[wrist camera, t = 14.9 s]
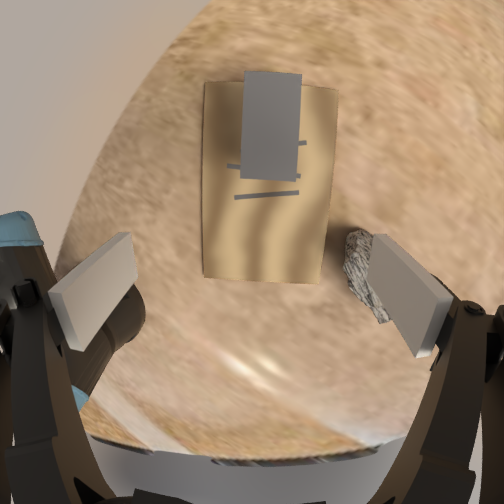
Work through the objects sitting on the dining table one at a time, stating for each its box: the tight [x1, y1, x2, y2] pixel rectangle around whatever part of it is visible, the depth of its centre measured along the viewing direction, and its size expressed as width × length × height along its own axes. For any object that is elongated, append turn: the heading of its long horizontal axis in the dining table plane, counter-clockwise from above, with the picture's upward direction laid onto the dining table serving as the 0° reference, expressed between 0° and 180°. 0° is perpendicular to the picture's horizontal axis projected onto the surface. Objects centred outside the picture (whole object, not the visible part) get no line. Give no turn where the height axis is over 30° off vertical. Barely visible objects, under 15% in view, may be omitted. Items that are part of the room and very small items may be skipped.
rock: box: [343, 229, 392, 324], centre depth 34 cm, size 16×8×10 cm, turn 38°
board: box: [202, 82, 339, 284], centre depth 34 cm, size 16×26×1 cm, turn 177°
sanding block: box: [240, 71, 302, 182], centre depth 27 cm, size 10×5×9 cm, turn 178°
